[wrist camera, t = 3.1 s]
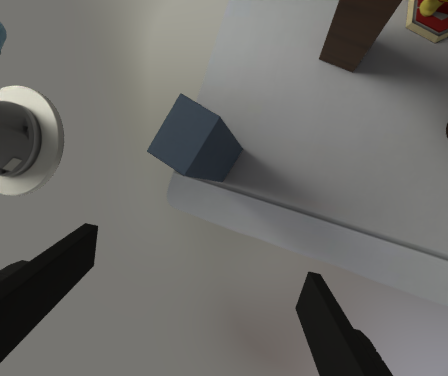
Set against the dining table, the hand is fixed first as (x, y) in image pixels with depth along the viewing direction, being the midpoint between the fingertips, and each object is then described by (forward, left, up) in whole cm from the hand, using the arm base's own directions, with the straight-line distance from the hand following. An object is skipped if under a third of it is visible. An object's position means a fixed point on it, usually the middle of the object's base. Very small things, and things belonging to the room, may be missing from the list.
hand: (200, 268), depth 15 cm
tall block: (-10, +6, -29) cm, 31 cm away
